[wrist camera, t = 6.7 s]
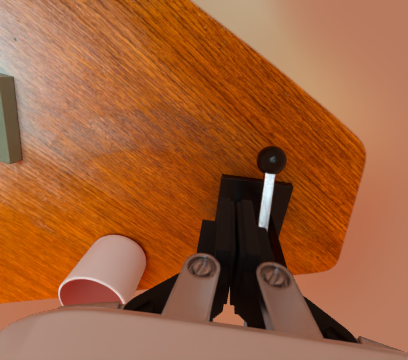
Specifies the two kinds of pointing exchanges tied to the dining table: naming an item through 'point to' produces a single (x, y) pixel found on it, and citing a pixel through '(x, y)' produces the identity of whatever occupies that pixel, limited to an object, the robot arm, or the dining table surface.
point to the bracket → (251, 191)
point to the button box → (8, 122)
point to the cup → (105, 273)
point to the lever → (268, 179)
